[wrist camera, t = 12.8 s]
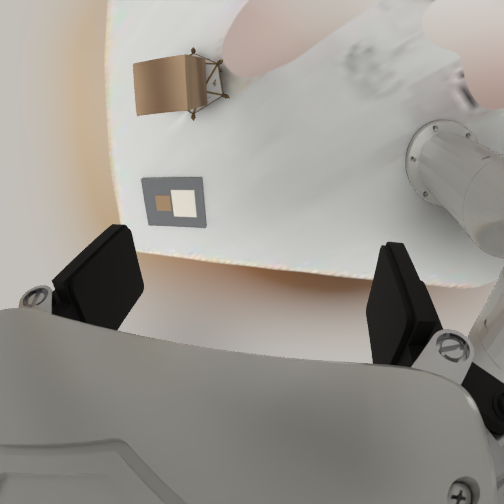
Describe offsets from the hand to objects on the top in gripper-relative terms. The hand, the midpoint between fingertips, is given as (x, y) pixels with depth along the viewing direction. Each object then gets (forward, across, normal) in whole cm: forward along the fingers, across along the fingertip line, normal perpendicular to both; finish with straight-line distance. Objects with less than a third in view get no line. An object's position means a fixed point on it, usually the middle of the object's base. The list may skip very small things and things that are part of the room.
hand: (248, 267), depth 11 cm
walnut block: (+24, +12, -7) cm, 28 cm away
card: (+32, +18, +11) cm, 39 cm away
